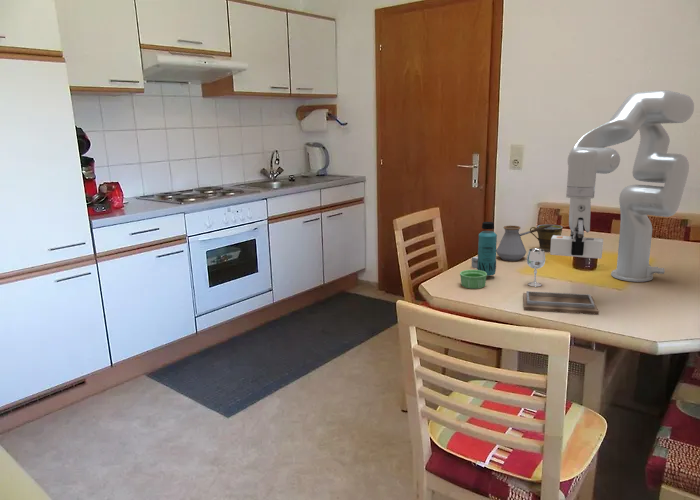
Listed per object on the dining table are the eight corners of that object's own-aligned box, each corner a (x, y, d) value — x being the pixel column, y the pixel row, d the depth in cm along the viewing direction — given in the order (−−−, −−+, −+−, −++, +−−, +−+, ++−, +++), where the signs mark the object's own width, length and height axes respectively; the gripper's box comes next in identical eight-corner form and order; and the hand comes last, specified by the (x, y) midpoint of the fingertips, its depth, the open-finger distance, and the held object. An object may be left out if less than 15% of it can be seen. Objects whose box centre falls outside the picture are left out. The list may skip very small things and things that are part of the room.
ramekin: (454, 284, 179) (454, 271, 178) (475, 280, 183) (476, 268, 182) (470, 291, 171) (470, 278, 170) (492, 286, 175) (492, 274, 174)
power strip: (601, 254, 155) (603, 238, 154) (601, 258, 150) (602, 241, 149) (552, 251, 161) (553, 234, 160) (550, 254, 157) (551, 238, 156)
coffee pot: (492, 260, 207) (493, 223, 203) (501, 253, 216) (502, 218, 212) (547, 266, 195) (549, 227, 191) (555, 259, 204) (557, 221, 201)
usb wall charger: (471, 267, 199) (471, 257, 198) (485, 264, 202) (485, 254, 201) (478, 269, 195) (479, 259, 194) (492, 266, 198) (492, 256, 197)
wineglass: (535, 288, 171) (536, 253, 168) (522, 283, 176) (523, 249, 173) (547, 285, 174) (549, 250, 171) (534, 280, 179) (536, 247, 176)
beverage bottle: (474, 275, 188) (475, 220, 183) (492, 274, 188) (493, 219, 184) (480, 280, 182) (481, 224, 177) (498, 279, 182) (500, 223, 177)
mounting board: (591, 299, 159) (592, 292, 158) (598, 314, 147) (599, 307, 146) (523, 295, 164) (523, 289, 164) (524, 310, 152) (524, 302, 152)
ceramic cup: (563, 248, 220) (564, 225, 218) (558, 253, 212) (559, 229, 210) (532, 245, 227) (532, 223, 225) (526, 250, 219) (527, 227, 216)
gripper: (599, 196, 142) (593, 260, 147) (590, 189, 158) (585, 246, 163) (569, 196, 145) (565, 258, 149) (563, 188, 161) (559, 245, 165)
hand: (575, 251), depth 156 cm, fingers closed on power strip, 5 cm apart
